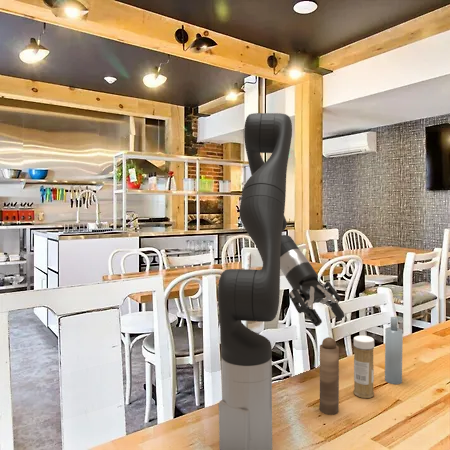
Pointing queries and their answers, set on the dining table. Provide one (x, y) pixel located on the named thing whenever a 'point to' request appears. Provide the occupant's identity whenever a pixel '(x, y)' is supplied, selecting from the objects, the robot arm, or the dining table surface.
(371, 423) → the dining table surface
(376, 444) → the dining table surface
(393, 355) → the ceramic cruet
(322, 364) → the pepper mill
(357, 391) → the sprinkles bottle
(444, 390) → the dining table surface
